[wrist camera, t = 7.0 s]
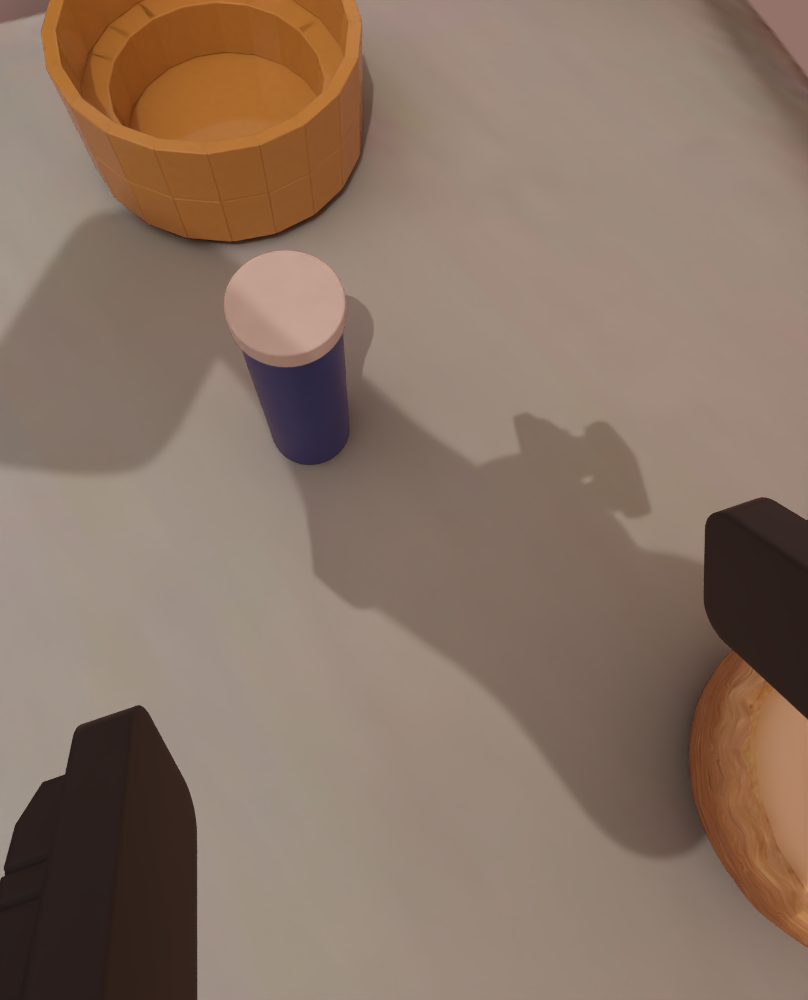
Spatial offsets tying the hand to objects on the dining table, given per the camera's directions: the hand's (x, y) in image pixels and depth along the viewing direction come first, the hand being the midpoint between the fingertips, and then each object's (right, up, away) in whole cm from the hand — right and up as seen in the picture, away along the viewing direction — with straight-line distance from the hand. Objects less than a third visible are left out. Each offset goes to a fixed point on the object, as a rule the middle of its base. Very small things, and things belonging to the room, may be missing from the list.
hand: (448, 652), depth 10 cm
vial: (-5, +5, +21) cm, 22 cm away
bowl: (-9, +20, +25) cm, 34 cm away
